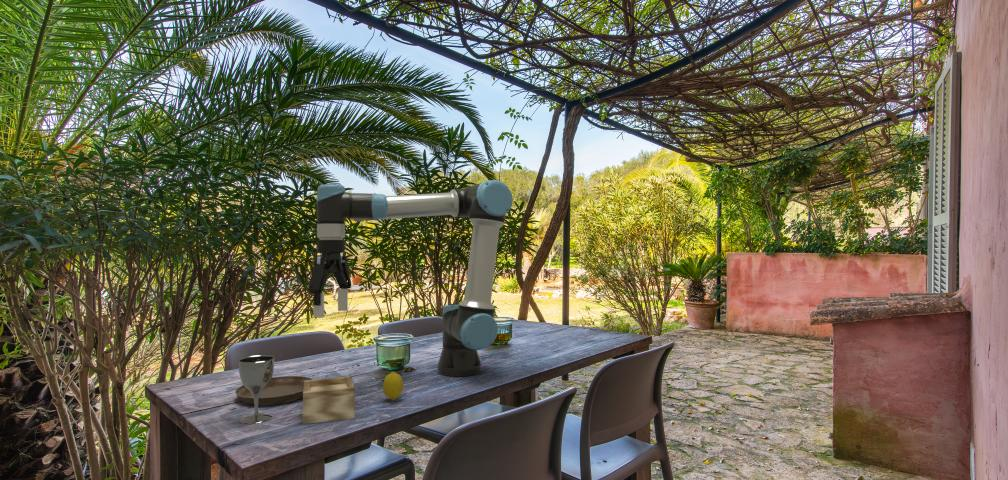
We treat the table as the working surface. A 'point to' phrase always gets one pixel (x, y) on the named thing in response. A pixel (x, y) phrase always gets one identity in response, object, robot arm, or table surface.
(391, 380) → the lemon
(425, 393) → the table surface
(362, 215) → the robot arm
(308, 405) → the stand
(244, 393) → the plant saucer
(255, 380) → the wine glass
